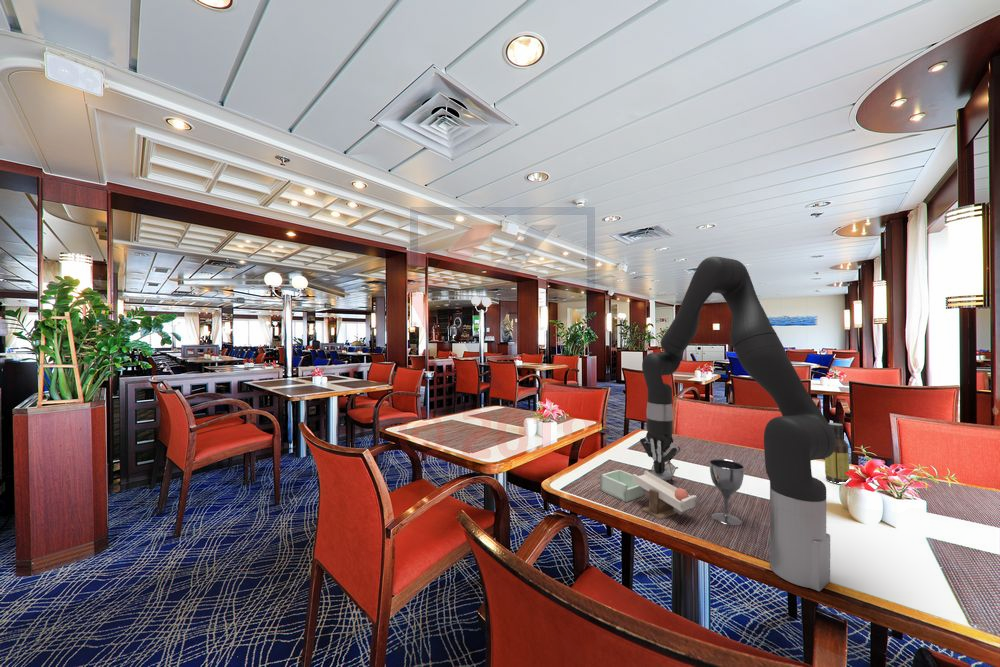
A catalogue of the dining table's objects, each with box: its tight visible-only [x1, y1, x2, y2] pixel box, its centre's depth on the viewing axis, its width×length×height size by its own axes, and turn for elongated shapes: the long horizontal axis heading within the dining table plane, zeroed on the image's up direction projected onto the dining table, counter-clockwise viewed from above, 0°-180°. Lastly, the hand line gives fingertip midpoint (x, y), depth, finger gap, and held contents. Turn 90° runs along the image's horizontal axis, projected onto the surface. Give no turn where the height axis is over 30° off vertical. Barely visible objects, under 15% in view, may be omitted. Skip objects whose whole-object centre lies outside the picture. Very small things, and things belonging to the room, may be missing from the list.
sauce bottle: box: [824, 422, 850, 483], centre depth 126 cm, size 6×6×20 cm
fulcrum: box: [641, 485, 678, 521], centre depth 105 cm, size 6×10×6 cm, turn 122°
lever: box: [632, 470, 698, 515], centre depth 107 cm, size 16×14×4 cm
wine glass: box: [709, 458, 745, 526], centre depth 100 cm, size 8×8×15 cm
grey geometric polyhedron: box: [648, 460, 679, 482], centre depth 126 cm, size 9×8×10 cm
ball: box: [675, 487, 689, 501], centre depth 100 cm, size 3×3×3 cm
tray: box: [599, 469, 646, 503], centre depth 117 cm, size 10×9×5 cm
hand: (659, 472), depth 114 cm, fingers closed
